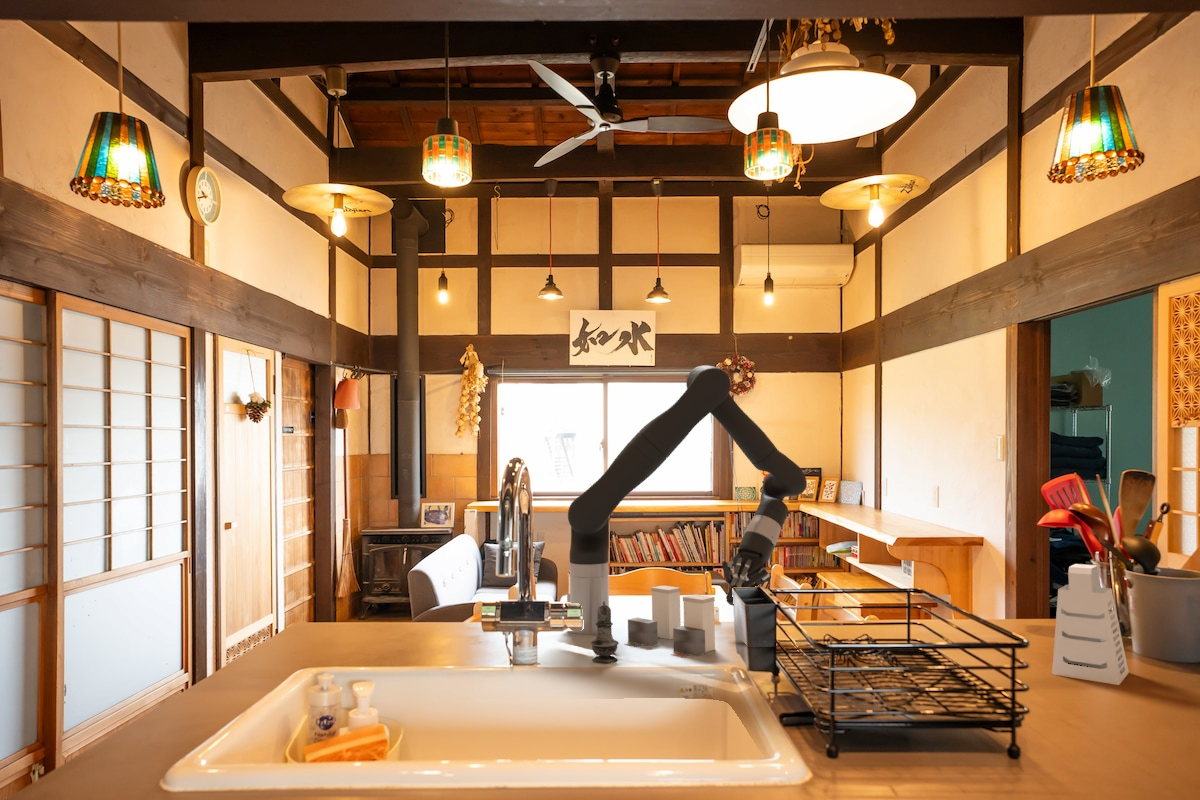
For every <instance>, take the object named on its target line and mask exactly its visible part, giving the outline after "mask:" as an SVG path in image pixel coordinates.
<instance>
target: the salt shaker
mask: <svg viewBox="0 0 1200 800" xmlns="http://www.w3.org/2000/svg"><path fill="white" fill-rule="evenodd" d="M605 604H606V603H605V601H604V602H603V605H602V606H600V607H599V608H598V622H597V623H596V625H597V635H596V638H595V640H592V641H590V645H591V649H592V651H593V653H594V655H596V656H595V657H593V658H592V659H591V661H592V663H595V664H600V665H601V664H603V665H607V664H613V663H616V662H617V661H618V658H617V657H615V656H613V655H614V654H615V653H616V651H618V650H617V649H618V645H619V643H620V642H619V641H618V640H615V639H614V638H613V635H612V626H613V625H614V624H613V622H612V609H611V608H610V606H609V607H608V606H606V605H605Z"/></svg>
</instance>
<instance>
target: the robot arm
mask: <svg viewBox="0 0 1200 800" xmlns="http://www.w3.org/2000/svg"><path fill="white" fill-rule="evenodd" d="M685 383H686V384H685V385H686V390H685V391H684V392H683V394H682V395H681V396H680V397H679V398H678V400H676V402H675V403H674V404H672V405H671V406H670V407H669V408H668V409H666V410H665V411H663V412H662V413H660V414H658V415H657V416H656V417H654V418H653V419H652V420H651V421H649V422H648V423H647V424H646V425H644V426H643V427H642V428H641V429H640V430H639V431H638V432H637V433H636V434H635V435H634V436H633V437H632V439H631V440H630V441H628V443H627V444H626V445H625V446H624V447H623V448H622V450H621V451H620V452H619V454H618V455H617V456H616V457H615V458H614V460H613V461H612V463H611V464H610V465H609V467H608V468H607V470H606V471H605V472H604V473H603V474H602V475H601V476H600V478H598V479H597V480H596V481H595V482H594V483H593V484H592V485H591V486H590V487H589V488H587V489H586V490H585V491H583V492H582V493H581V494H580V495H579V496H578V497H575V499H574V500H573V501H572V502H571V503H570V505H569V507H568V510H567V519H568V523H569V525H570V548H569V593H568V594H567V595H566V603H567V602H571V603H579V604H580V605H581V606H582V609H583V620H584V629H583V630H582V631H567V630H566V631H567V633H568V632H569V633H571V634H573V635H577V636H578V635H579V636H597V625H596V623H597V622H598V608H599V607H600V606H602V605H603V602H604V601H605V603H606V604H605V605H606V606H608V607H610V604H609V603H610V601H609V599H610V598H609V597H610V595H609V593H610V591H609V589H610V586H609V585H610V584H609V581H610V579H609V549H610V516H611V514H613V512H614V511H615V509H616V508H617V507H618V506H619V504H620V503H621V502H622V501H623V500H624V498H626V497H627V495H629V494H630V493H631V492H632V491H634V490H635V489H636V488H637V487H638V486H639V485H641V484H642V483H644V482H645V481H646V480H647V479H648V478H649V477H650V476H652V474H653V473H655V472H656V470H657V469H659V467H660V466H662V464H663V463H664V462H665V461H666V460H667V459H668V458H669V457H670V456H671V454H672V453H673V452H674V451H675V450H676V449H677V448H678V446H679V445H680V444H681V443H682V442H683V441H684V440H685V439H686V437H687V436H688V435H689V434H690V432H692V430H693V429H694V428H695V427H696V426H697V425H698V424H699V423H700V422H701V421H702V420H703V419H705V417H707V416H708V415H709V414H711V415H712V416H713V417H714V418H715V419H716V420H717V421H718V423H719V424H720V425H721V426H722V427H723V428H724V430H725V431H726V432H727V433H728V434H729V436H730V438H731V439H733V441H734V443H735V444H736V445H737V447H738V448H739V449H740V450H741V452H742V453H743V454H744V455H745V456H746V458H747V460H748V461H749V462H750V463H751V464H752V465H753V466H754V467H755V469H756V470H758V471H762V472H767V473H768V474H767V475H766V476H765V478H764V480H763V482H762V489H761V494H760V501H759V505H758V507H757V509H756V511H755V513H754V515H753V517H752V519H751V520H750V522H748V523H749V524H748V525H747V527H746V530H745V531H744V534H743V536H742V538H741V540H740V543H739V545H738V547H737V553H736V554H735V555H734V556H733V558H732V560H731V561H728V562H727V561H726V560H724V561H722V563H721V565H722V569H723V574H724V575H723V576H724V580H725V582H726V583H727V584H728V585H729V590H728V593H727V594H726V597H725V598H726V602H727V603H728V605H729V606H733V607H735V606H734V604H733V597H732V588H733V587H755V586H758V585H759V584H762V585H764V584H765V583H767V582H768V581H769V580H770V579H771V578H772V576H771V574H770V573H769V572H768V570H767V563H769V561H770V558H771V556H772V554H773V552H774V549H775V547H776V545H777V542H778V540H779V539H780V538H779V537H780V534H781V530H782V528H783V526H784V524H785V522H786V519H787V517H788V514H789V508H788V506H787V504H786V503H785V502H784V499H785V498H787V497H793V496H798V495H801V494H802V493H804V492H805V490H806V489H807V484H808V483H807V477H806V473H804V471H803V470H802V469H801V467H800V466H799V465H798V464H797V463H796V462H794V461H793V460H792V459H791V458H789V457H788V456H787V455H786V454H784V453H782V452H781V451H780V450H779V449H778V448H777V447H776V445H775V444H774V443H773V442H772V440H771V439H770V438H769V437H768V435H766V433H765V432H764V431H763V430H762V428H761V427H760V426H758V424H757V423H756V422H755V421H754V420H752V418H750V417H749V415H748V414H747V413H745V411H744V410H743V409H742V408H741V407H740V406H739V404H738V403H736V401H735V400H734V398H733V397H732V396H731V394H730V391H731V385H732V384H731V383H732V382H731V378H730V376H729V374H728V373H727V372H726V371H725V370H723V369H722V368H719V367H716V366H713V365H706V364H704V365H699V366H696V367H694V368H693V369H691V371H690V372H689V374H688V375H687V377H686V381H685Z"/></svg>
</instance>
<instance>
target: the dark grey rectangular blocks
mask: <svg viewBox="0 0 1200 800" xmlns="http://www.w3.org/2000/svg"><path fill="white" fill-rule="evenodd" d="M658 638H659V637H658V636H657V621H653V620H652V619H646V618H642V617H634V618H628V619H627V641H628V643H624V645H625V646H629V647H632V648H635V647H640V646H642V645H643V646H653V645H657V644H658ZM672 640H673V641H672V642H673V644H672V645H673V648H672V649H673V653H671V654H670V656H673V657H674V656H675V657H677V658H678V657H679V658H685V657H689V656H693V657H699V656H702V655H706V652H705V630H702V629H696V628H691V627H686V626H684V625H681V626H680V627H676V628H673V638H672ZM674 652H675V653H674Z"/></svg>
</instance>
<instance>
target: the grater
mask: <svg viewBox="0 0 1200 800" xmlns="http://www.w3.org/2000/svg"><path fill="white" fill-rule="evenodd" d="M1099 569H1100V568H1099V566H1098V564H1097V565H1095V564H1083V563H1074V564H1072V565H1070V566H1069V567H1068V584H1065V585H1064V586H1062V587H1059V588H1058V589H1057V601H1056V612H1055V613H1056V616H1055V629H1054V630H1055V631H1054V641H1053V642H1054V643H1053V653H1052V654H1053V659H1052V671H1051V674H1052V675H1054V676H1060V677H1067V678H1073V679H1078V680H1085V681H1086V680H1087V681H1091V682H1097V683H1106V684H1111V685H1118V686H1119V685H1120V684H1121V683H1122V682H1123V681H1124V679H1125V678H1126V677H1127V675H1129V673H1130V672H1129V667H1128V664H1127V663H1128V662H1127V656H1126V652H1125V648H1124V647H1125V646H1124V643H1123V639H1122V633H1121V629H1120V624H1119V619H1118V614H1117V609H1116V608H1117V607H1116V604H1115V600H1114V594H1113V589H1112V588H1111V587H1110V588H1109V587H1101V583H1100V570H1099ZM1068 663H1071V664H1068ZM1074 664H1078V665H1074ZM1080 665H1082V666H1080ZM1087 666H1088V667H1087Z"/></svg>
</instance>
